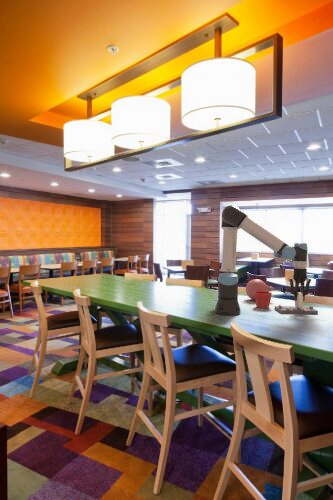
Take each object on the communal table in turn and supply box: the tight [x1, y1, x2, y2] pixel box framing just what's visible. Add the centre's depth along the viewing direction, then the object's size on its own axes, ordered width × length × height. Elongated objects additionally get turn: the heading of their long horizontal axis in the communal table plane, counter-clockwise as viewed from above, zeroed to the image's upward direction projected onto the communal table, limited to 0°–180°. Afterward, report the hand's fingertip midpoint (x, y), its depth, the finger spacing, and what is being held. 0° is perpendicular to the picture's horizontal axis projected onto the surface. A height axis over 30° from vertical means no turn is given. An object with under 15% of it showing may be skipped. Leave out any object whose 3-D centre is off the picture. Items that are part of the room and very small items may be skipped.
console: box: [274, 304, 319, 315], centre depth 204 cm, size 22×12×4 cm, turn 89°
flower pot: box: [254, 291, 273, 309], centre depth 217 cm, size 11×11×10 cm
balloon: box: [245, 278, 275, 301], centre depth 240 cm, size 15×20×15 cm
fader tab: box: [295, 291, 303, 309], centre depth 204 cm, size 3×4×10 cm
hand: (299, 305), depth 204 cm, fingers closed on fader tab, 2 cm apart
